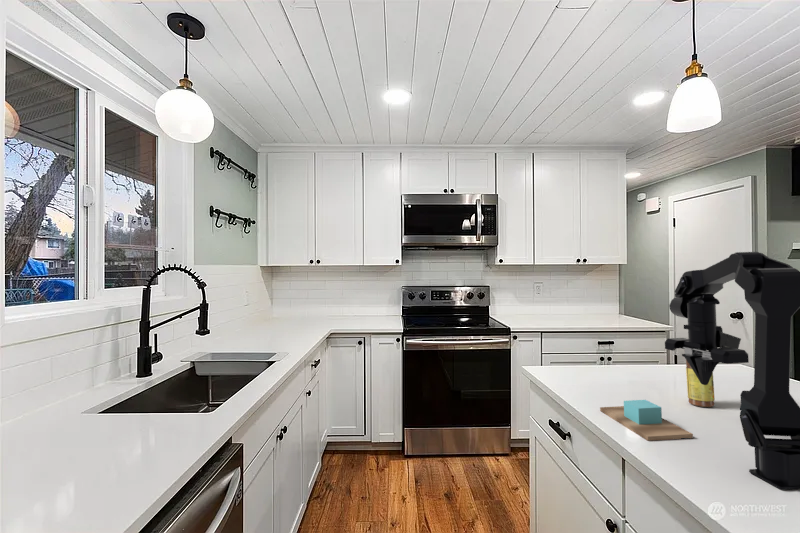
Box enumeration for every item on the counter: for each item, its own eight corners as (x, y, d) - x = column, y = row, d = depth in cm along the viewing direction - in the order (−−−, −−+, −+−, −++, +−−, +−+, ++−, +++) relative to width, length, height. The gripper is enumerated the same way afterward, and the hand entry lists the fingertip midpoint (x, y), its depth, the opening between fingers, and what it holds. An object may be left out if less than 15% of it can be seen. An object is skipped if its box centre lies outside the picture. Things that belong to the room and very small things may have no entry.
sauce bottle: (719, 408, 112) (716, 337, 112) (694, 407, 113) (691, 337, 113) (706, 401, 118) (704, 333, 118) (683, 400, 119) (680, 333, 120)
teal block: (662, 423, 100) (661, 407, 100) (639, 424, 100) (638, 408, 100) (645, 414, 106) (645, 399, 106) (624, 415, 106) (623, 400, 106)
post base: (693, 438, 94) (692, 423, 94) (647, 440, 93) (647, 425, 93) (637, 408, 114) (637, 396, 114) (600, 410, 113) (599, 398, 113)
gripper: (769, 324, 91) (772, 393, 90) (700, 316, 109) (702, 373, 109) (724, 326, 90) (727, 396, 89) (662, 317, 108) (664, 375, 108)
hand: (704, 384), depth 99 cm, fingers closed
